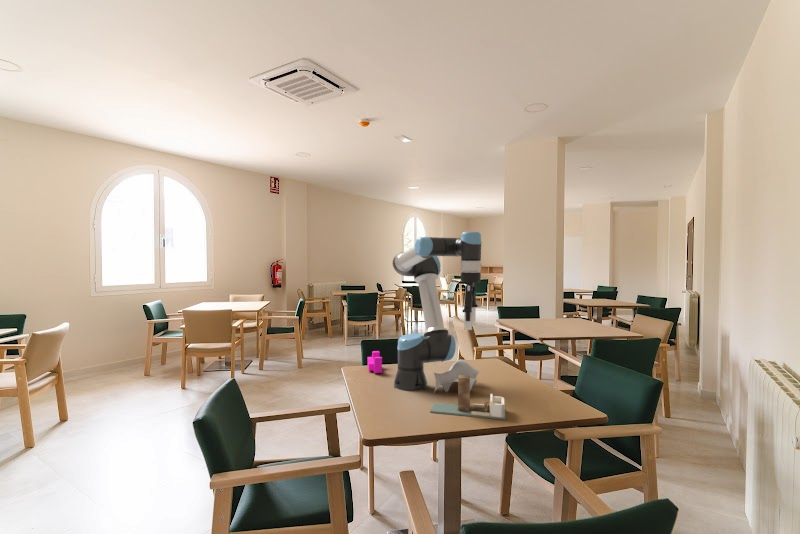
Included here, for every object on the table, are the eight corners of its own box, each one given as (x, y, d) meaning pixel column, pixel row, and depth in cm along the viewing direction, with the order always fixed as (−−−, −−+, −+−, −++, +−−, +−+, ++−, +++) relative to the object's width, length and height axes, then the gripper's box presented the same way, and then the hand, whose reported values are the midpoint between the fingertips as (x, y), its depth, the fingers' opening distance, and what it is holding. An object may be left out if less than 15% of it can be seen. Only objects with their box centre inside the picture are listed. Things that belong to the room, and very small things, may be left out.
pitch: (430, 412, 147) (430, 408, 147) (434, 403, 156) (434, 399, 156) (505, 419, 140) (505, 415, 140) (505, 410, 149) (505, 406, 149)
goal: (489, 416, 142) (489, 401, 142) (490, 407, 150) (490, 393, 150) (504, 417, 141) (504, 402, 141) (504, 408, 149) (504, 394, 149)
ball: (490, 402, 144) (499, 407, 144) (490, 398, 148) (499, 403, 147) (485, 410, 145) (495, 415, 144) (486, 407, 148) (495, 412, 147)
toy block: (367, 365, 213) (367, 351, 213) (379, 365, 214) (379, 351, 214) (369, 373, 198) (369, 358, 198) (381, 372, 199) (381, 357, 199)
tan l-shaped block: (457, 410, 146) (457, 378, 146) (459, 405, 152) (459, 374, 151) (487, 413, 144) (487, 380, 143) (487, 408, 149) (487, 376, 149)
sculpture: (476, 398, 163) (476, 374, 163) (431, 394, 168) (431, 371, 168) (479, 380, 187) (479, 359, 187) (439, 377, 192) (439, 357, 192)
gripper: (477, 273, 141) (476, 333, 142) (483, 270, 165) (482, 321, 166) (456, 273, 143) (455, 331, 144) (464, 270, 167) (464, 320, 168)
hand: (470, 326), depth 155 cm, fingers open, 13 cm apart
